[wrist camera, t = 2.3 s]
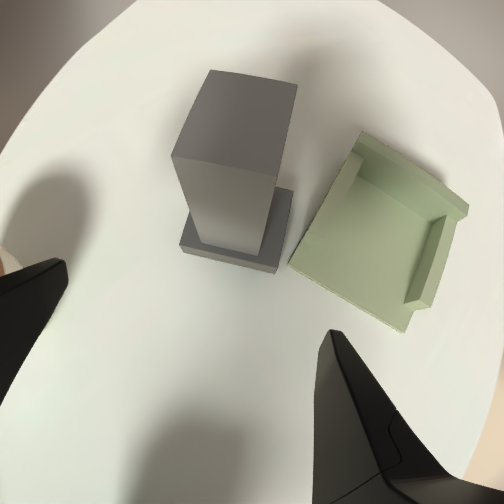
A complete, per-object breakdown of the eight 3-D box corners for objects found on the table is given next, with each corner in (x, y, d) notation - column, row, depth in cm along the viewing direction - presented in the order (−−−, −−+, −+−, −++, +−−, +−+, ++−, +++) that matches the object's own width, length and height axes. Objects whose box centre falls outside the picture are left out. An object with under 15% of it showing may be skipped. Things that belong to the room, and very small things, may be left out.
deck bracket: (401, 333, 22) (432, 330, 18) (287, 265, 23) (298, 248, 19) (441, 223, 25) (469, 204, 21) (345, 160, 26) (362, 131, 22)
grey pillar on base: (274, 273, 23) (316, 199, 11) (183, 252, 23) (130, 160, 11) (289, 202, 25) (331, 86, 12) (205, 183, 25) (183, 60, 12)
